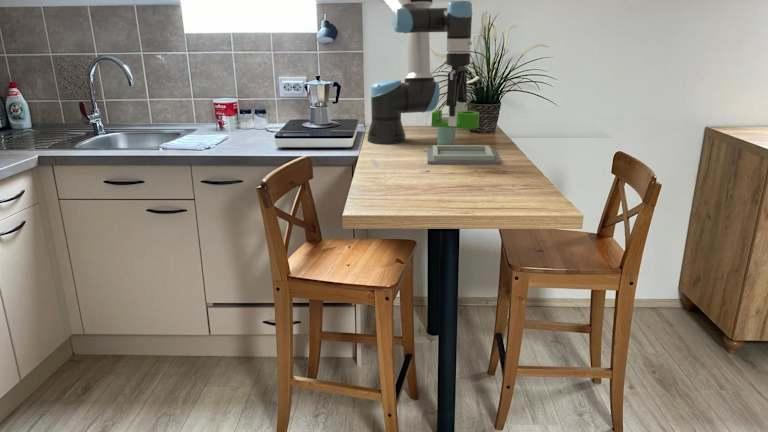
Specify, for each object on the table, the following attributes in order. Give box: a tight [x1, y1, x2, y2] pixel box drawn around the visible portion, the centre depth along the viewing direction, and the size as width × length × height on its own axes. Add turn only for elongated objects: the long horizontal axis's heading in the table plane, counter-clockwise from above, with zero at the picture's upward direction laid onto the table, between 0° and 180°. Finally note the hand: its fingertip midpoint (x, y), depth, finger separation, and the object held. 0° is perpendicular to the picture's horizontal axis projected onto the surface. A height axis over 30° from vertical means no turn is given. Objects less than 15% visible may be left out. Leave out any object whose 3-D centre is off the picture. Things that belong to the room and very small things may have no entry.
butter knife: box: [369, 159, 379, 169], centre depth 189 cm, size 1×27×3 cm
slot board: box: [426, 144, 502, 165], centre depth 202 cm, size 24×20×2 cm
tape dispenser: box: [431, 109, 480, 130], centre depth 193 cm, size 15×7×5 cm, turn 69°
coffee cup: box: [435, 113, 457, 145], centre depth 217 cm, size 9×8×12 cm
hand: (456, 123), depth 194 cm, fingers closed on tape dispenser, 7 cm apart
